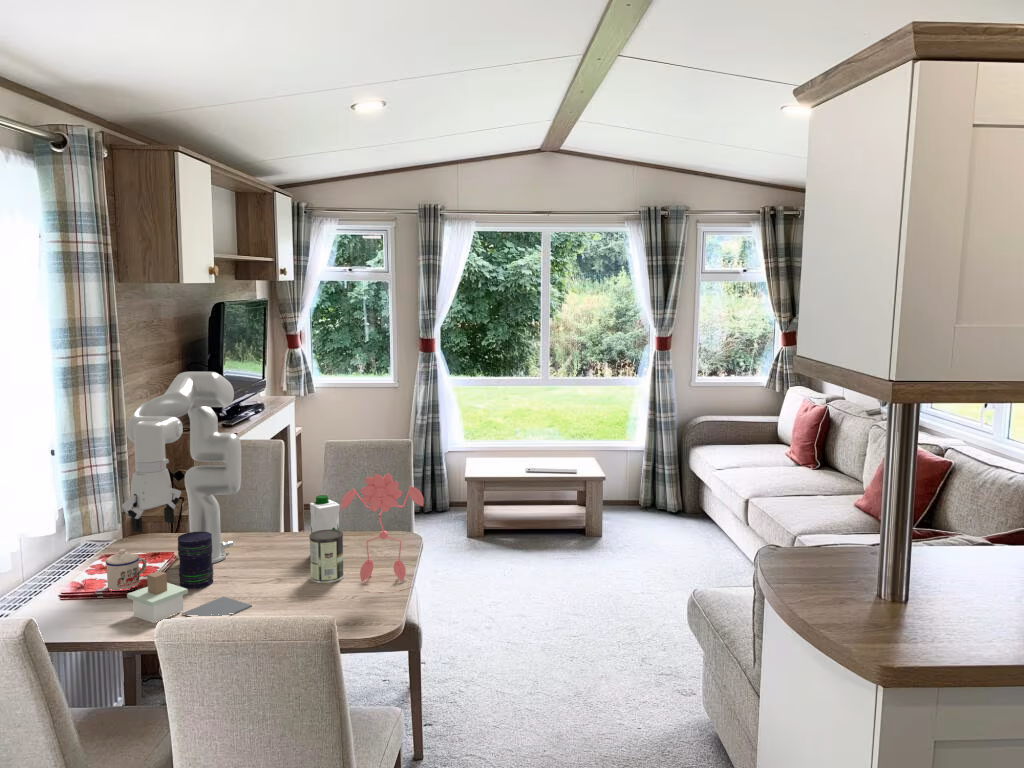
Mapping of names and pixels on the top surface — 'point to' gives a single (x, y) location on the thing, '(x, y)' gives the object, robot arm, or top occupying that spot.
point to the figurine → (382, 496)
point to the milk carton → (324, 514)
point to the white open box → (158, 609)
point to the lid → (157, 590)
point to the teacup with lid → (123, 570)
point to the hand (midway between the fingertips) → (153, 526)
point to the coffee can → (326, 556)
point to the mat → (219, 607)
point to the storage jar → (195, 560)
